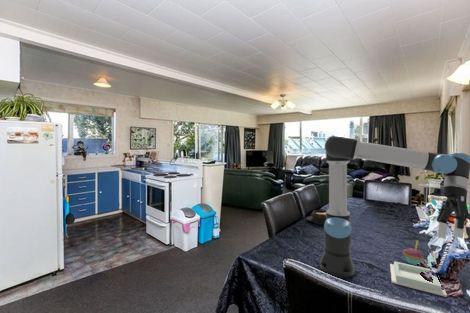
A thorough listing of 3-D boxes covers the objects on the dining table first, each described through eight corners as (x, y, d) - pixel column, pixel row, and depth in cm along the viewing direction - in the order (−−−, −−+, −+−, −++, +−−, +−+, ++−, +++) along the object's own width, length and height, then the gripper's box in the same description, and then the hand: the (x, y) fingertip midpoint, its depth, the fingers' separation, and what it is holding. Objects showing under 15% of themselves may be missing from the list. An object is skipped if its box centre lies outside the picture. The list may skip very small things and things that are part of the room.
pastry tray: (391, 282, 101) (392, 275, 101) (390, 265, 116) (390, 259, 116) (447, 297, 91) (447, 289, 91) (437, 275, 107) (437, 269, 106)
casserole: (302, 222, 182) (302, 212, 181) (310, 217, 196) (311, 207, 196) (336, 229, 166) (336, 218, 166) (342, 223, 181) (342, 212, 181)
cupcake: (414, 259, 123) (415, 236, 122) (428, 267, 114) (429, 243, 114) (398, 259, 123) (399, 236, 122) (411, 267, 114) (412, 243, 114)
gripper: (485, 184, 87) (479, 240, 82) (451, 195, 109) (445, 241, 105) (459, 178, 90) (452, 233, 86) (432, 191, 112) (425, 235, 108)
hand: (448, 237), depth 95 cm, fingers open, 13 cm apart
